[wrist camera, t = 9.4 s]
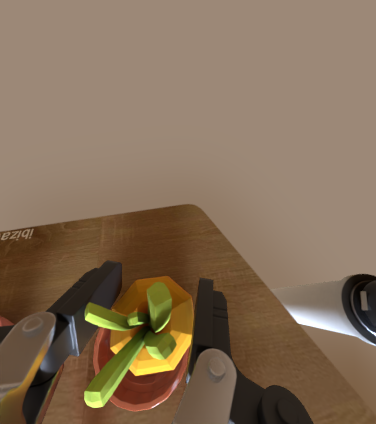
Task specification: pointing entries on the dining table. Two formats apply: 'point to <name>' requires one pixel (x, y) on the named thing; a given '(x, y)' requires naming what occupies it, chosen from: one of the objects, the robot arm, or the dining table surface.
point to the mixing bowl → (137, 379)
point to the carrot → (142, 333)
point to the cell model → (5, 321)
